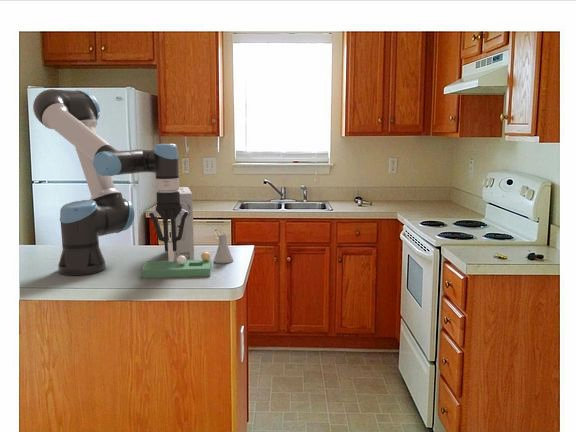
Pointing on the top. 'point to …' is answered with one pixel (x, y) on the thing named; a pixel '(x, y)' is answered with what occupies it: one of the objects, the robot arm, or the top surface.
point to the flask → (223, 251)
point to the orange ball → (205, 256)
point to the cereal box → (185, 226)
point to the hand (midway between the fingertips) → (171, 260)
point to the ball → (181, 260)
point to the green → (176, 269)
